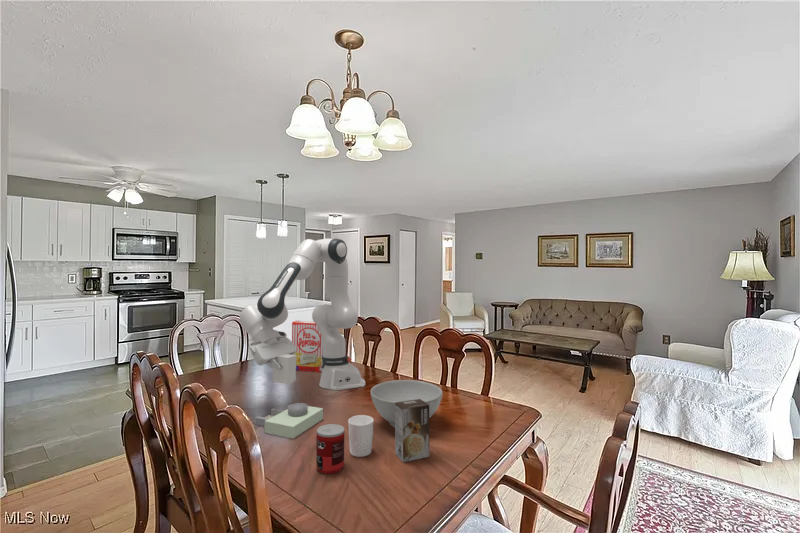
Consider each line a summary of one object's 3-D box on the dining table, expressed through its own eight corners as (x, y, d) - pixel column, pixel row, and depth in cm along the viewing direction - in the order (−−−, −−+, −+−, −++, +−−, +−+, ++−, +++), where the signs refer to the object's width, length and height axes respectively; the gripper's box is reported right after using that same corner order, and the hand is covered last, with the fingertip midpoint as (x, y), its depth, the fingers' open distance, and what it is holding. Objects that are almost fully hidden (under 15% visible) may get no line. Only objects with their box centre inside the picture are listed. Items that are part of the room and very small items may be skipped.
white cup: (369, 459, 115) (369, 426, 115) (344, 456, 116) (344, 423, 116) (376, 447, 122) (376, 416, 122) (352, 444, 124) (353, 414, 124)
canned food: (317, 460, 113) (318, 424, 113) (344, 460, 114) (345, 423, 114) (314, 474, 106) (314, 435, 106) (343, 473, 106) (343, 434, 106)
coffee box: (420, 448, 122) (421, 398, 122) (430, 457, 116) (430, 404, 116) (394, 453, 118) (394, 401, 118) (402, 463, 113) (403, 409, 113)
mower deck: (244, 428, 135) (244, 410, 135) (278, 410, 152) (278, 394, 152) (292, 438, 128) (293, 419, 128) (323, 419, 144) (323, 401, 144)
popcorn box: (290, 370, 211) (291, 321, 211) (295, 367, 217) (296, 320, 217) (326, 372, 207) (326, 323, 207) (330, 369, 214) (330, 321, 214)
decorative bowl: (448, 414, 150) (449, 384, 150) (432, 444, 125) (432, 407, 125) (385, 405, 159) (385, 376, 159) (358, 431, 134) (358, 397, 134)
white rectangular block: (272, 381, 148) (273, 355, 148) (281, 378, 152) (281, 353, 152) (287, 384, 145) (288, 357, 145) (295, 380, 150) (296, 355, 150)
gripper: (252, 338, 142) (272, 368, 138) (287, 331, 161) (306, 357, 157) (242, 349, 143) (262, 379, 140) (279, 341, 162) (297, 367, 158)
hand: (285, 367), depth 148 cm, fingers closed on white rectangular block, 5 cm apart
